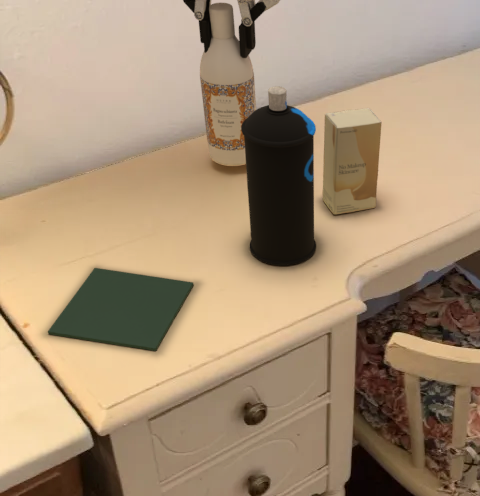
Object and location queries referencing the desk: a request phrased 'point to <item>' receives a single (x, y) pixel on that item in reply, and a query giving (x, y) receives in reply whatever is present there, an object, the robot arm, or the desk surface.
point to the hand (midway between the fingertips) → (228, 50)
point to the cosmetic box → (351, 160)
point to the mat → (122, 309)
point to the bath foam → (226, 89)
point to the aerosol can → (280, 181)
